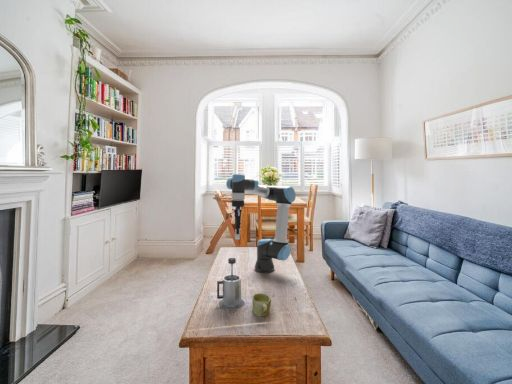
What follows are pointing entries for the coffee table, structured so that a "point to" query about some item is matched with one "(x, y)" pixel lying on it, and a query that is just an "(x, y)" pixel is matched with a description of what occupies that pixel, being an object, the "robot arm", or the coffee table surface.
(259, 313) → the mug
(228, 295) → the grey french press
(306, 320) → the coffee table surface
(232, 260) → the plunger
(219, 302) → the coaster
